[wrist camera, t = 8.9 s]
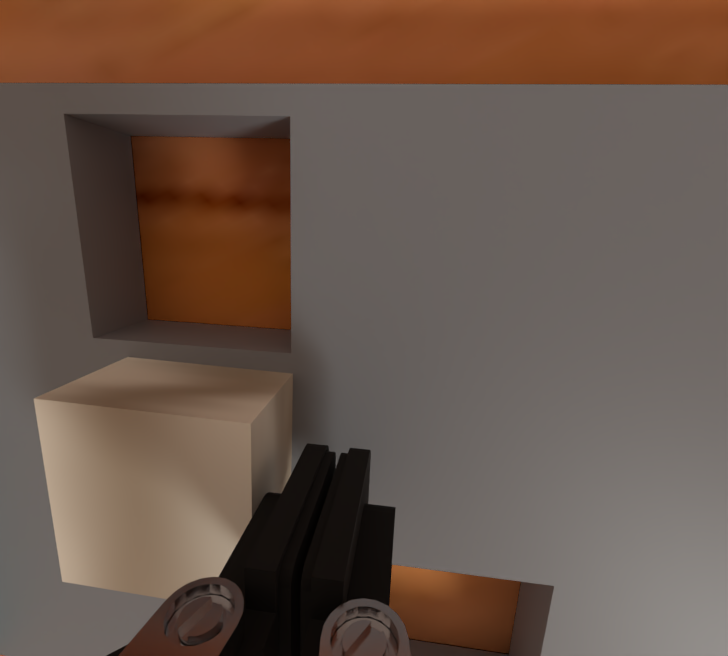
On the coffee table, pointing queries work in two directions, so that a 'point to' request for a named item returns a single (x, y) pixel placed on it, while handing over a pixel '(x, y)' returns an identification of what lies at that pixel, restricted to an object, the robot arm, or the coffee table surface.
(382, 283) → the board
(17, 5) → the coffee table surface
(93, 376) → the cream block
